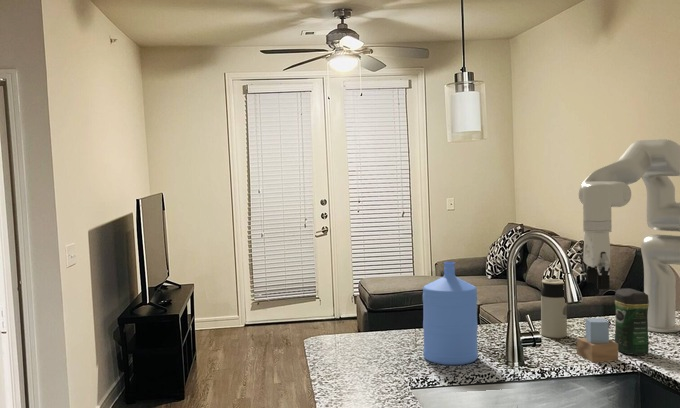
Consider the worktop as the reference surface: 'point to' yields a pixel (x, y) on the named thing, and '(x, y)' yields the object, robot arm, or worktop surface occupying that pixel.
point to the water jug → (450, 320)
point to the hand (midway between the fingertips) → (597, 285)
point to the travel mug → (553, 309)
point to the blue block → (597, 330)
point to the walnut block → (597, 350)
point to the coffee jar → (631, 321)
